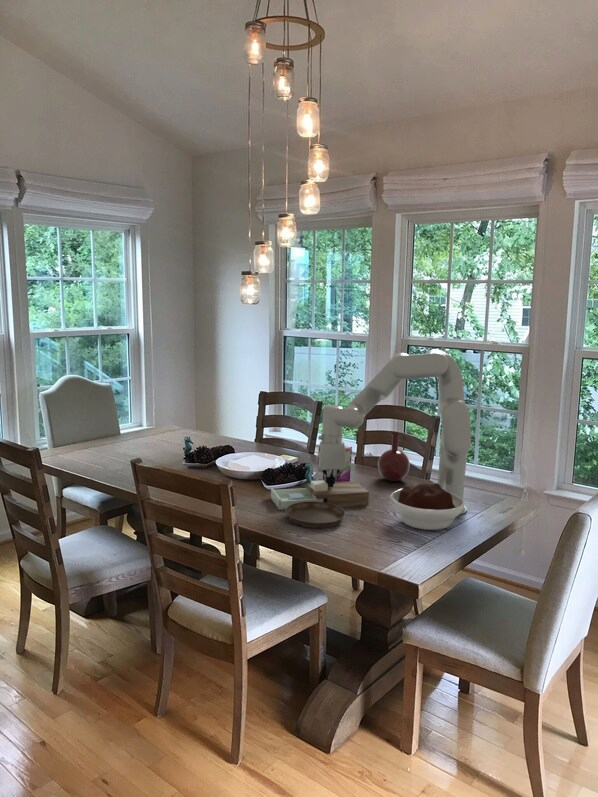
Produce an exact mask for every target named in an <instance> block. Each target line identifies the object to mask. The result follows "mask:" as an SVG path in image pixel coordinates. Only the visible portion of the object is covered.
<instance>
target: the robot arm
mask: <svg viewBox="0 0 598 797" xmlns="http://www.w3.org/2000/svg"><path fill="white" fill-rule="evenodd" d="M428 378H437V381H438V390H439V413H440V416H441V417H440V418H441V426H442V428H441V430H442V431H441V434H440V438H439V460H438V462H439V463H438V474H437V483H438V484H439V485H440V486H441V488H442V489H443V490H445V491H447V492H451V493H453V494H456V495H458V496H459V497H461V498H462V499H463V500H464V495H465V494H464V493H465V481H466V470H467V469H466V468H467V454H468V453H469V452H470V449H471V446H472V435H471V434H472V433H471V418H470V416H471V415H470V410H469V407H468V406H467V404H466V401H465V392H464V391H465V390H464V380H463V375H462V370H461V368H460V366H459V364H458V362H457V361H456V360H455V359H454V357H452V356H451V355H450V354H448V353H447V352H445V351H444V350H440V349H437V348H436V349H435V348H434V349H429V350H428V351H426V352H425V353H420V354H419V353H418V354H408V353H405V352H398V353H396V354H394V356H392V358H390V360H389V361H388V362H386V364H385V365H384V366H383V367H382V368H381V369H380V370H379V371H378V373H377V374H376V375H375V376H374V377H373V378H372V379H371V380H370V381H369V383H367V385H366V386H364V388H363V389H362V390H361V391H360V392H359V393H357V395H356V396H355V397H354V399H352V401H351V402H350V403H348V405H347V406H346V407H345V408H343V406H340V405H336V404H327V405H325V406H324V407H323V410H322V427H321V428H322V429H321V430H322V431H321V434H320V435H319V436H317V439H318V440H320V442H319V445H318V451H317V456H316V458H317V459H316V465H317V467H316V472H318V473H322V474H323V473H324V474H325V475H326V483H327V484H328V487H333V484H335V477H336V475H337V474H338V473H339V472H341V471H344V470H345V466H346V454H345V446H346V445H345V442H344V441H343V430H344V427H345V428H349V429H357V428H360V427H361V426H362V425H363V423H364V420H365V417H366V415H368V414H369V413H370V411H372V409H373V408H374V407H375V406H376V405H377V404H378V403H380V402H381V401H384V400H386V399H387V398H388V397H389V396H391V395H392V393H393V392H395V390H396V389H397V388H398V387H399V386H400V385H401V384H402V382H403V381H405V380H417V379H428ZM330 470H331V475H330ZM467 510H468V509H467V506H466V505H465V504H464V509H463V510H462V512H461V513H460V514H459V515H462V514H466V513H467Z"/></svg>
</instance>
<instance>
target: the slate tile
mask: <svg viewBox="0 0 598 797" xmlns="http://www.w3.org/2000/svg"><path fill="white" fill-rule="evenodd" d="M303 499H305V497H304V496H303V495H302V494H301V493H292V494H288V500H303Z"/></svg>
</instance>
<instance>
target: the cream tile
mask: <svg viewBox="0 0 598 797" xmlns="http://www.w3.org/2000/svg"><path fill="white" fill-rule="evenodd" d="M310 483H311V488H312V489H313V490H314V491H328V484H327V483H326V482H325V481H324V480H323V479H322V480H311V481H310Z"/></svg>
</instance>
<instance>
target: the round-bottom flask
mask: <svg viewBox="0 0 598 797" xmlns="http://www.w3.org/2000/svg"><path fill="white" fill-rule="evenodd" d="M399 436H400V433H397V432H394V433H392V432H391V448H390V449H389V450H385V451H384V452H383V453H382V454H381V455H380V457H379V458H378V461H377V468H378V469H377V470H378V472H379V474H380V475H381V477H383V478H384V479H385V480H388V481H391V482H398V481H401V480H403V479H404V478H405V477H407V475H408V474H409V471H410V466H411V464H410V463H411V462H410V460H409V457H408V456H407V455H406V453H404V452H403V451H401V450H400V449H399V438H400V437H399Z"/></svg>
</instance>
